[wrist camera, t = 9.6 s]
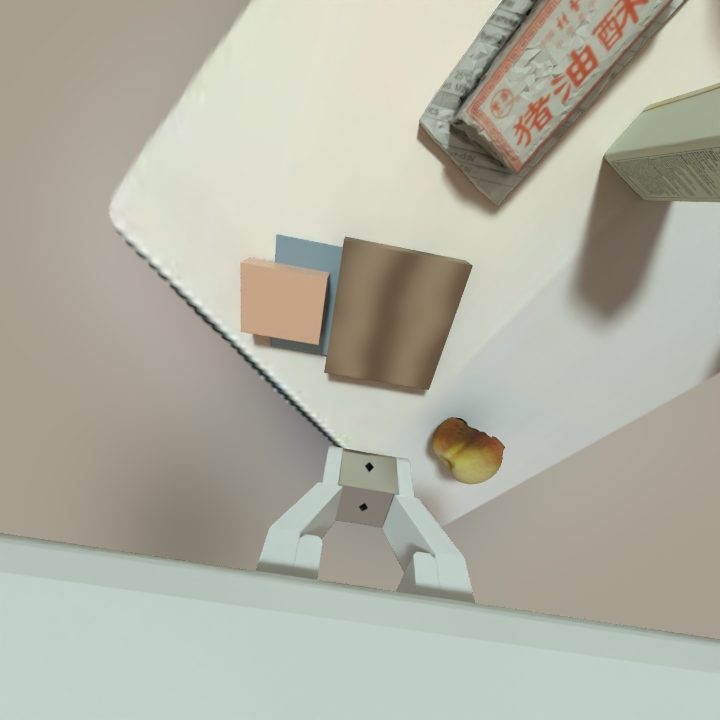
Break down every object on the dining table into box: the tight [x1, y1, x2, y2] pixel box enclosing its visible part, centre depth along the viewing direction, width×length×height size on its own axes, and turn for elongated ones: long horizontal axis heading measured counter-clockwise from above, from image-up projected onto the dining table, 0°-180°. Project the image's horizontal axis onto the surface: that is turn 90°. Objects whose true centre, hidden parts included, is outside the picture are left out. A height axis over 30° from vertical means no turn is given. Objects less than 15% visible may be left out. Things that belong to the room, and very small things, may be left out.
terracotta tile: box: [241, 258, 330, 345], centre depth 31 cm, size 8×7×2 cm
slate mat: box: [271, 235, 343, 355], centre depth 32 cm, size 8×12×1 cm, turn 170°
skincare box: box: [604, 83, 720, 202], centre depth 21 cm, size 6×4×12 cm
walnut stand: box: [324, 237, 472, 390], centre depth 32 cm, size 12×14×2 cm
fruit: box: [433, 417, 505, 484], centre depth 37 cm, size 8×8×8 cm
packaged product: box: [419, 0, 684, 206], centre depth 21 cm, size 18×5×10 cm
